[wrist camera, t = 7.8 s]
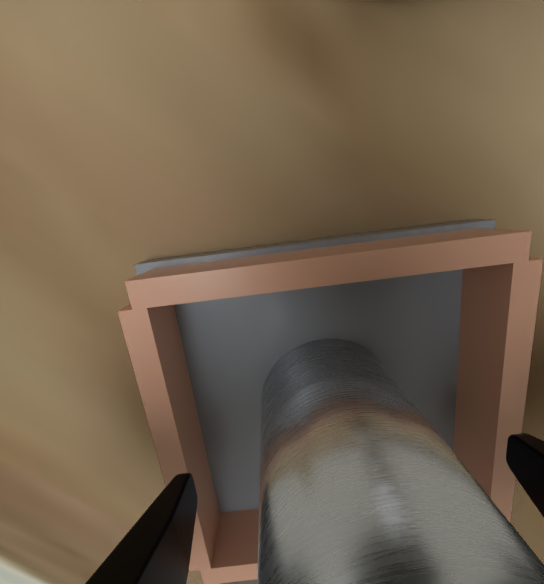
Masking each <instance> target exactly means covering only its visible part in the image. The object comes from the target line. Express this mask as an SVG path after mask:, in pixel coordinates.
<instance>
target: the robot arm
mask: <svg viewBox="0 0 544 584" xmlns="http://www.w3.org/2000/svg"><path fill="white" fill-rule="evenodd" d="M506 461H507V464H508V466H509V468H510V470H511V471H512V472H513V474H514V475H515V477H516V478H517V480H518V481H519V483H520V484H521V485H522V487H523V488H524V490H525V491H526V493H527V494H528V495H529V497H530V498H531V500H532V501H533V503H534V504H535V505H536V507H537V508H538V510H539V511H540V513H541V514H542V516H543V517H544V441H542V440H540V439H538V438H536V437H533V436H531V435H529V434H526V433H520V434H512V435H510V436H509V437H508V441H507V450H506ZM197 502H198V497H197V491H196V487H195V483H194V479H193V476H192V474H191V473H182V474H177V475H176V476H175V477H174V478H173V479H172V480H171V481H170V483H169V484H168V485H167V486H166V487H165V489H164V490H163V491H162V492H161V493H160V495H159V496H158V497H157V498H156V499H155V501H154V502H153V503H152V504H151V505H150V507H149V508H148V509H147V510H146V511H145V513H144V514H143V515H142V516H141V517H140V519H139V520H138V521H137V522H136V523H135V525H134V526H133V527H132V528H131V529H130V531H129V532H128V533H127V534H126V535H125V537H124V538H123V539H122V540H121V541H120V543H119V544H118V545H117V546H116V547H115V549H114V550H113V551H112V552H111V553H110V555H109V556H108V557H107V558H106V559H105V561H104V562H103V563H102V564H101V565H100V567H99V568H98V569H97V570H96V571H95V573H94V574H93V575H92V576H91V577H90V579H89V580H88V581H87V582H86V583H85V584H186V581H187V576H188V571H189V564H190V557H191V549H192V541H193V534H194V526H195V519H196V511H197Z"/></svg>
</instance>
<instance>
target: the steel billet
mask: <svg viewBox="0 0 544 584" xmlns="http://www.w3.org/2000/svg"><path fill="white" fill-rule="evenodd" d="M257 584H544V565H543V563H542V562H541V561H540V560H539V558H538V557H537V556H536V555H535V553H534V552H533V551H532V550H531V548H530V547H529V546H528V545H527V543H526V542H525V541H524V540H523V538H522V537H521V536H520V535H519V533H518V532H517V531H516V530H515V528H514V527H513V526H512V525H511V523H510V522H509V521H508V520H507V518H506V517H505V516H504V515H503V513H502V512H501V511H500V510H499V508H498V507H497V506H496V505H495V503H494V502H493V501H492V500H491V498H490V497H489V496H488V495H487V493H486V492H485V491H484V490H483V488H482V487H481V486H480V485H479V483H478V482H477V481H476V480H475V478H474V477H473V476H472V475H471V473H470V472H469V471H468V470H467V468H466V467H465V466H464V465H463V463H462V462H461V461H460V460H459V458H458V457H457V456H456V455H455V453H454V452H453V451H452V450H451V448H450V447H449V446H448V445H447V443H446V442H445V441H444V440H443V438H442V437H441V436H440V435H439V433H438V432H437V431H436V430H435V428H434V427H433V426H432V425H431V423H430V422H429V421H428V420H427V418H426V417H425V416H424V415H423V413H422V412H421V411H420V410H419V408H418V407H417V406H416V405H415V403H414V402H413V401H412V400H411V399H410V397H409V396H408V395H407V394H406V392H405V391H404V390H403V389H402V387H401V386H400V385H399V384H398V382H397V381H396V380H395V379H394V377H393V376H392V375H391V374H390V372H389V371H388V370H387V369H386V367H385V366H384V365H383V364H382V362H381V361H380V360H379V359H378V358H377V357H376V356H375V355H374V354H373V353H372V352H371V351H369V350H368V349H366V348H365V347H363V346H361V345H359V344H357V343H353V342H350V341H347V340H341V339H320V340H314V341H310V342H307V343H304V344H302V345H300V346H297V347H295V348H294V349H292V350H290V351H289V352H287V353H286V354H285V355H283V356H282V357H281V358H280V359H279V360H278V361H277V362H276V363H275V364H274V366H273V367H272V368H271V370H270V372H269V373H268V375H267V377H266V380H265V382H264V385H263V389H262V398H261V440H260V485H259V530H258V575H257Z"/></svg>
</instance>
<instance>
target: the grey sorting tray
mask: <svg viewBox="0 0 544 584" xmlns="http://www.w3.org/2000/svg"><path fill="white" fill-rule="evenodd" d="M495 221H496V220H493V219H472V220H464V221H456V222H448V223H440V224H432V225H424V226H416V227H408V228H400V229H392V230H384V231H376V232H368V233H360V234H352V235H344V236H336V237H328V238H320V239H312V240H304V241H296V242H288V243H280V244H272V245H264V246H256V247H248V248H240V249H232V250H224V251H216V252H208V253H200V254H192V255H184V256H176V257H168V258H160V259H152V260H145V261H143V262H140V263H137V264H134V266H135V270H136V274H137V276H135V277H133V278H131V279H129V280H127V281H125V284H126V288H127V292H128V296H129V299H130V304H129V305H127V306H126V307H124V308H123V309H121V310H119V311H118V315H119V318H120V322H121V325H122V329H123V333H124V336H125V340H126V344H127V347H128V351H129V354H130V358H131V362H132V365H133V369H134V373H135V376H136V380H137V383H138V387H139V391H140V394H141V398H142V402H143V405H144V409H145V412H146V416H147V420H148V423H149V427H150V431H151V434H152V438H153V442H154V445H155V449H156V452H157V456H158V460H159V463H160V467H161V471H162V474H163V478H164V481H165V485H166V486H167V485H168V484H169V483H170V481H171V480H172V479H173V478H174V477H175V476H176V475H177V474H182V473H191V474H192V476H193V479H194V483H195V487H196V491H197V497H198V502H197V511H196V519H195V526H194V534H193V541H192V549H191V557H190V564H189V571H195V570H200V571H201V575H202V579H203V583H204V584H257V575H258V530H259V485H260V440H261V398H262V389H263V385H264V382H265V380H266V377H267V375H268V373H269V372H270V370H271V368H272V367H273V366H274V364H275V363H276V362H277V361H278V360H279V359H280V358H281V357H282V356H283V355H285V354H286V353H287V352H289V351H290V350H292V349H294V348H295V347H297V346H300V345H302V344H304V343H307V342H310V341H314V340H320V339H341V340H347V341H350V342H353V343H357V344H359V345H361V346H363V347H365V348H366V349H368V350H369V351H371V352H372V353H373V354H374V355H375V356H376V357H377V358H378V359H379V360H380V361H381V362H382V364H383V365H384V366H385V367H386V369H387V370H388V371H389V372H390V374H391V375H392V376H393V377H394V379H395V380H396V381H397V382H398V384H399V385H400V386H401V387H402V389H403V390H404V391H405V392H406V394H407V395H408V396H409V397H410V399H411V400H412V401H413V402H414V403H415V405H416V406H417V407H418V408H419V410H420V411H421V412H422V413H423V415H424V416H425V417H426V418H427V420H428V421H429V422H430V423H431V425H432V426H433V427H434V428H435V430H436V431H437V432H438V433H439V435H440V436H441V437H442V438H443V440H444V441H445V442H446V443H447V445H448V446H449V447H450V448H451V450H452V451H453V452H454V453H455V455H456V456H457V457H458V458H459V460H460V461H461V462H462V463H463V465H464V466H465V467H466V468H467V470H468V471H469V472H470V473H471V475H472V476H473V477H474V478H475V480H476V481H477V482H478V483H479V485H480V486H481V487H482V488H483V490H484V491H485V492H486V493H487V495H488V496H489V497H490V498H491V500H492V501H493V502H494V503H495V505H496V506H497V507H498V508H499V510H500V511H501V512H502V513H503V515H504V516H505V517H506V518H507V520H508V521H509V522H511V514H512V506H513V498H514V490H515V482H516V477H515V475H514V474H513V472H512V471H511V470H510V468H509V466H508V464H507V461H506V450H507V441H508V437H509V436H510V435H512V434H520V433H522V426H523V418H524V410H525V402H526V394H527V386H528V378H529V370H530V362H531V354H532V346H533V338H534V330H535V322H536V314H537V306H538V298H539V290H540V282H541V274H542V266H543V259H539V258H533V257H529V252H530V243H531V234H532V231H525V230H506V229H495Z"/></svg>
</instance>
